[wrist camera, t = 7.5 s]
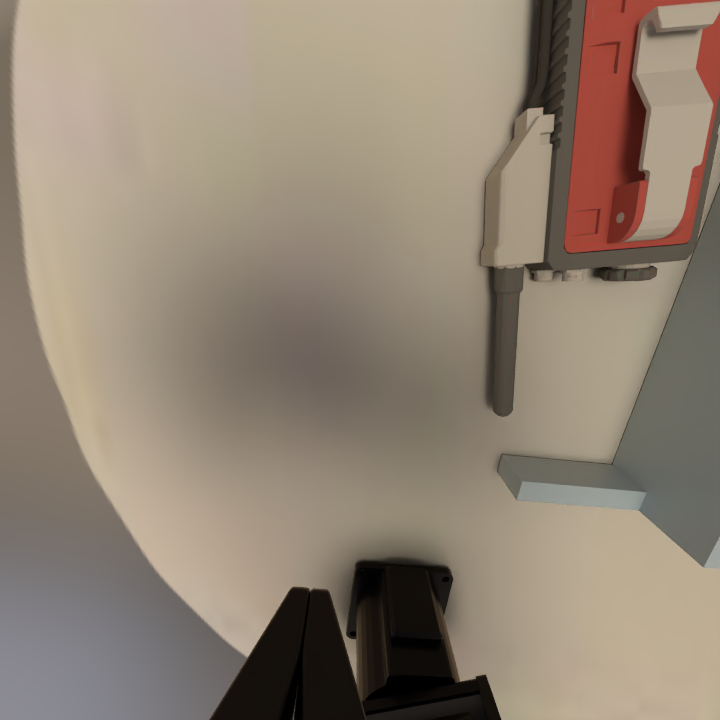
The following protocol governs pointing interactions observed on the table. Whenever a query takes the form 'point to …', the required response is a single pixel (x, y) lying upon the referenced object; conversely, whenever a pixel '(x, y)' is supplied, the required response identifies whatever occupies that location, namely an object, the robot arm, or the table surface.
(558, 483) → the mounting bracket
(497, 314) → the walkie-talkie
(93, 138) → the table surface
